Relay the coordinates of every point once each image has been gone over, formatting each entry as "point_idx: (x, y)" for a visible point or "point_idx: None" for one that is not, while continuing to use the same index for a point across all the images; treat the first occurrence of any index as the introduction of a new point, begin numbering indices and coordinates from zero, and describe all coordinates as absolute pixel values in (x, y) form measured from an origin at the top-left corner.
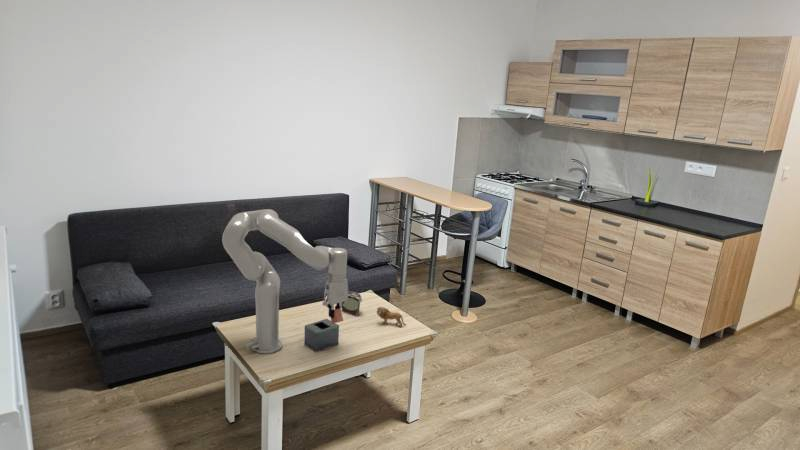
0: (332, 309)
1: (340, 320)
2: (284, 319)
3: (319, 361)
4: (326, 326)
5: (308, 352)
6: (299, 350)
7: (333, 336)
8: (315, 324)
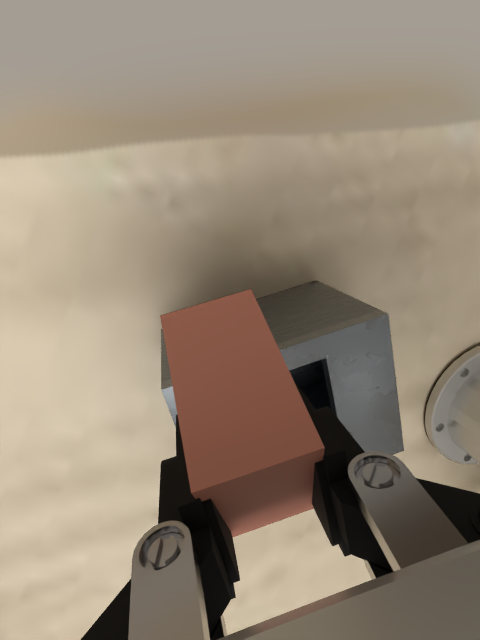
0: (359, 466)
1: (207, 313)
2: None
3: (346, 165)
4: None
5: (353, 291)
6: None
7: None
8: None
